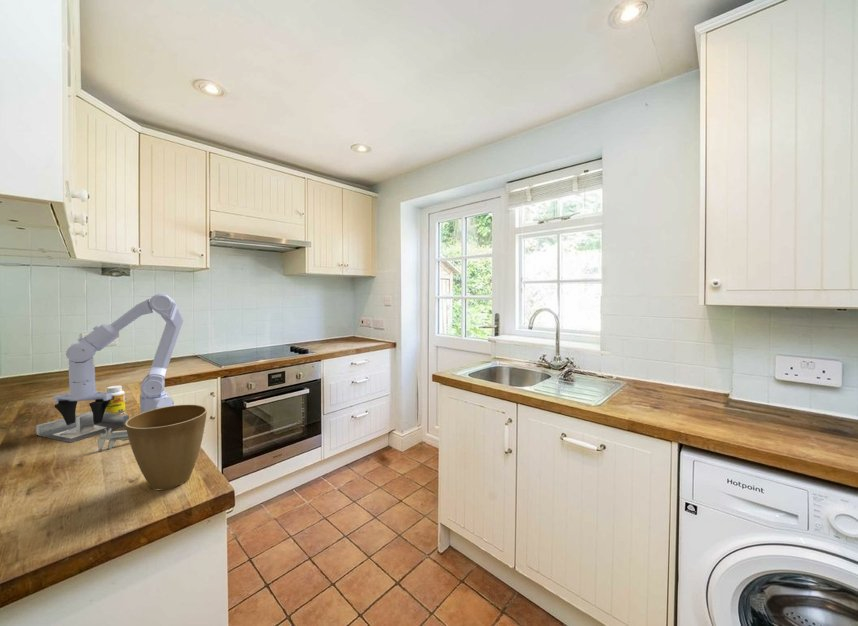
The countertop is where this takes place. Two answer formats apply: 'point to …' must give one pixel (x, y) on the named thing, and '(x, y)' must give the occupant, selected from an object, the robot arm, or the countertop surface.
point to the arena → (60, 426)
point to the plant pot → (167, 443)
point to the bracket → (81, 425)
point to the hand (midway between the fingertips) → (84, 423)
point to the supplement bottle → (116, 400)
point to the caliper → (111, 438)
